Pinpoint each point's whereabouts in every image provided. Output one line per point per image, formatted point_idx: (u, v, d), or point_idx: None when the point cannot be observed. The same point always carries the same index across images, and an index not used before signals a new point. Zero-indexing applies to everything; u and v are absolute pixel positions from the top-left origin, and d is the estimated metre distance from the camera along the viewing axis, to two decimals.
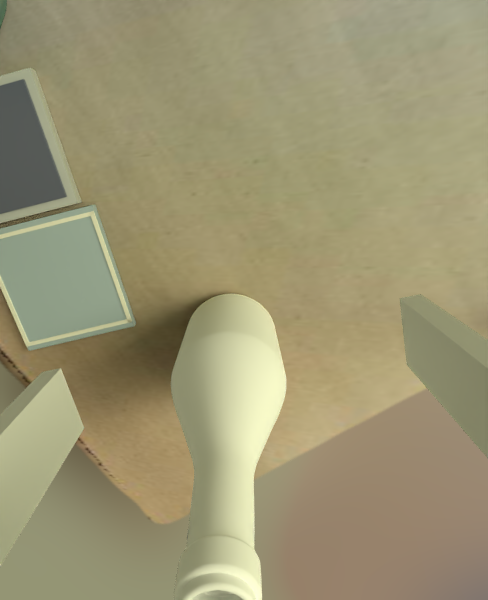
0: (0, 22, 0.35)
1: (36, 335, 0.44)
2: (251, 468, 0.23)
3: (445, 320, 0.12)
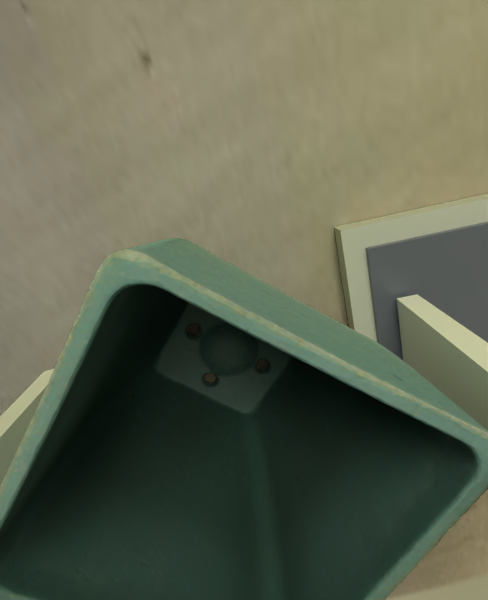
0: None
1: None
2: None
3: (441, 320, 0.12)
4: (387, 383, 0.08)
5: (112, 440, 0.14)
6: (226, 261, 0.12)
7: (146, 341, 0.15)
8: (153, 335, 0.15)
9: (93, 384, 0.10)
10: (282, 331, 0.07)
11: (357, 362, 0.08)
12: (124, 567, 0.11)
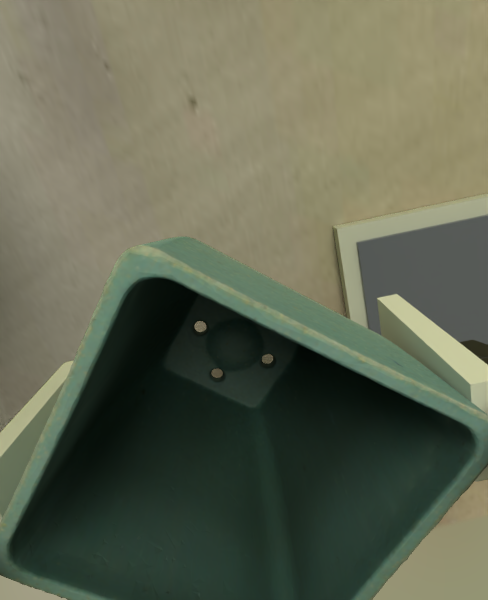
0: None
1: None
2: None
3: (416, 319, 0.13)
4: (388, 367, 0.08)
5: (124, 434, 0.14)
6: (232, 258, 0.12)
7: (154, 337, 0.15)
8: (161, 332, 0.15)
9: (107, 377, 0.11)
10: (287, 319, 0.08)
11: (359, 349, 0.08)
12: (140, 553, 0.11)
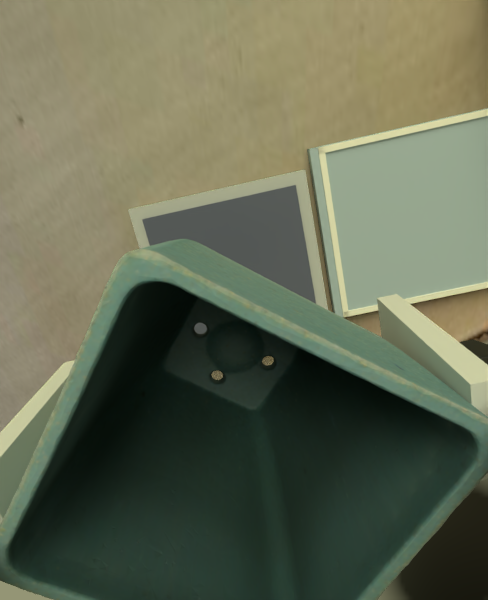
0: None
1: None
2: None
3: (416, 319, 0.13)
4: (389, 372, 0.08)
5: (124, 436, 0.14)
6: (232, 260, 0.12)
7: (154, 339, 0.15)
8: (161, 334, 0.15)
9: (107, 380, 0.11)
10: (288, 323, 0.08)
11: (360, 353, 0.08)
12: (139, 557, 0.11)
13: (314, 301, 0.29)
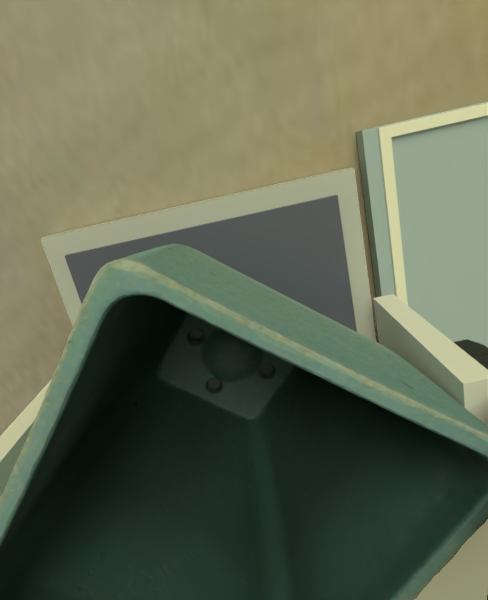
0: None
1: None
2: None
3: (411, 318, 0.13)
4: (397, 393, 0.07)
5: (115, 450, 0.14)
6: (227, 266, 0.11)
7: (147, 348, 0.14)
8: (154, 342, 0.15)
9: (93, 396, 0.10)
10: (286, 341, 0.07)
11: (365, 371, 0.08)
12: (128, 583, 0.10)
13: None
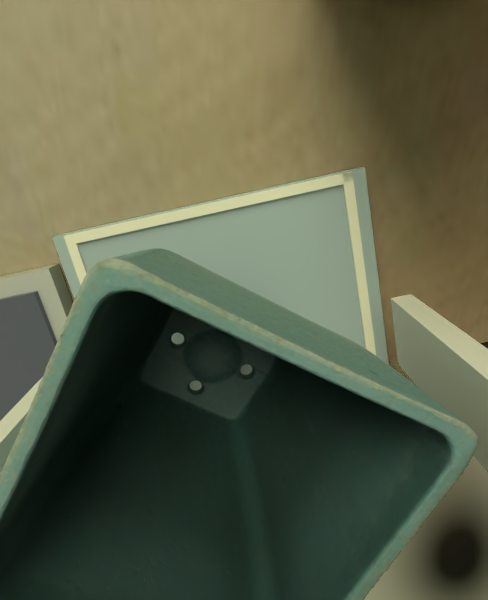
0: None
1: None
2: None
3: (433, 319, 0.13)
4: (363, 377, 0.08)
5: (100, 451, 0.14)
6: (207, 269, 0.12)
7: (131, 351, 0.15)
8: (137, 345, 0.15)
9: (80, 393, 0.10)
10: (262, 331, 0.08)
11: (334, 359, 0.08)
12: (116, 575, 0.11)
13: None
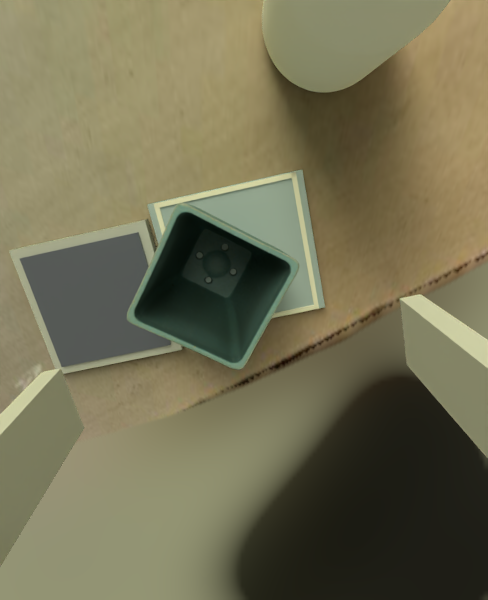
0: None
1: (305, 294, 0.36)
2: None
3: (445, 320, 0.12)
4: (258, 241, 0.26)
5: (166, 298, 0.32)
6: None
7: (178, 256, 0.33)
8: (181, 255, 0.33)
9: (164, 258, 0.29)
10: (225, 225, 0.25)
11: (250, 236, 0.26)
12: (177, 328, 0.29)
13: None
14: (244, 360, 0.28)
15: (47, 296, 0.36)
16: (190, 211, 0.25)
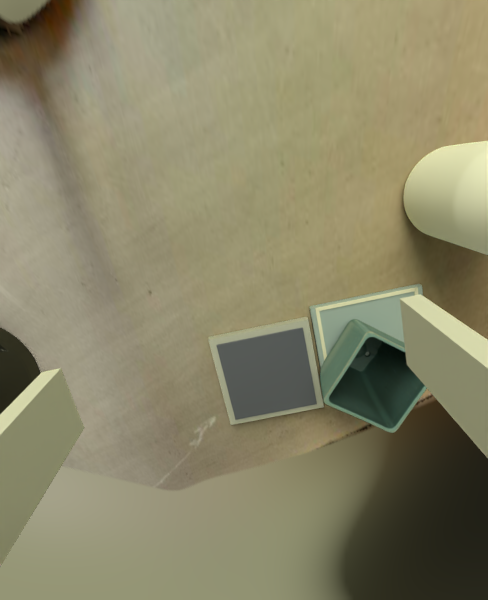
0: None
1: None
2: None
3: (445, 320, 0.12)
4: None
5: None
6: None
7: None
8: None
9: None
10: (396, 344, 0.39)
11: None
12: (349, 404, 0.43)
13: (313, 388, 0.50)
14: (397, 426, 0.42)
15: (232, 371, 0.49)
16: (375, 336, 0.39)
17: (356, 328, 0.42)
